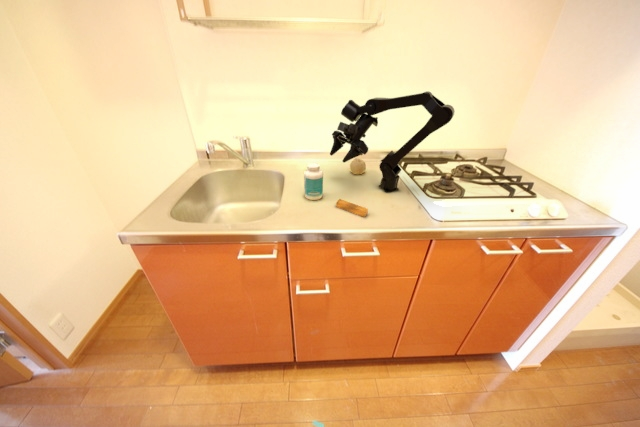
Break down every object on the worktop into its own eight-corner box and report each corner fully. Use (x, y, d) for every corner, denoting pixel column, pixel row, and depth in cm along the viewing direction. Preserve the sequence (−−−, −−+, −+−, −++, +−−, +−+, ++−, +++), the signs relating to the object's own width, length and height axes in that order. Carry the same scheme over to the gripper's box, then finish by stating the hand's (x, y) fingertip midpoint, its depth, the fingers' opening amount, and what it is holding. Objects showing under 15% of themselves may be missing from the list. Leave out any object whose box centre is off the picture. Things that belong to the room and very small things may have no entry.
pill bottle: (326, 197, 93) (327, 166, 86) (311, 202, 89) (311, 170, 82) (315, 190, 98) (315, 160, 91) (301, 195, 94) (300, 164, 87)
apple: (349, 168, 119) (358, 155, 116) (361, 177, 117) (370, 165, 114) (344, 168, 112) (353, 155, 109) (357, 178, 110) (366, 165, 107)
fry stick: (336, 206, 87) (336, 201, 86) (339, 204, 89) (339, 198, 87) (364, 217, 81) (365, 211, 80) (367, 214, 83) (368, 208, 82)
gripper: (336, 110, 94) (313, 140, 95) (366, 118, 81) (339, 153, 82) (350, 128, 102) (328, 155, 103) (379, 138, 88) (354, 170, 90)
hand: (336, 158), depth 94 cm, fingers open, 9 cm apart
